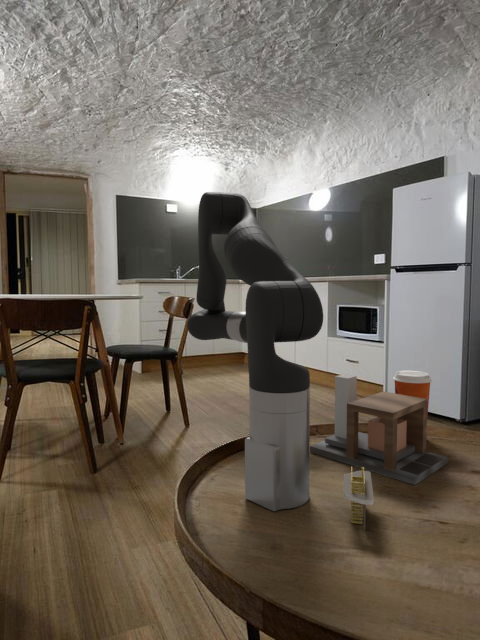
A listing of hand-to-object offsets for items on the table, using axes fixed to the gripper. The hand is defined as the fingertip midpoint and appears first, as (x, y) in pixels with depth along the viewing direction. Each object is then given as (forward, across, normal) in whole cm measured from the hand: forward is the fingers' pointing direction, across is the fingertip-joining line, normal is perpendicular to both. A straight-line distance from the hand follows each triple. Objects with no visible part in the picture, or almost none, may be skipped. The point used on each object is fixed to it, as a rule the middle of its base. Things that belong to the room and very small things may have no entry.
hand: (302, 333), depth 99 cm
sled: (+17, 0, +20) cm, 26 cm away
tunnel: (+18, 0, +22) cm, 29 cm away
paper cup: (+18, +15, +22) cm, 32 cm away
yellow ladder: (+28, -22, +22) cm, 42 cm away
